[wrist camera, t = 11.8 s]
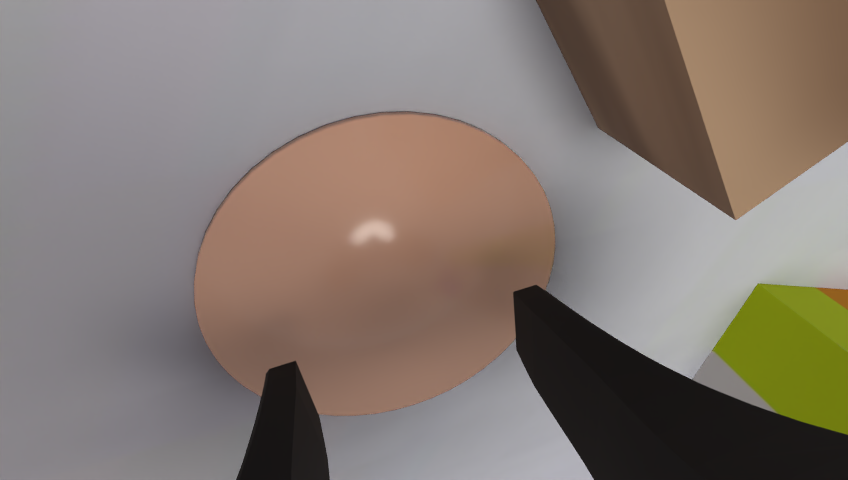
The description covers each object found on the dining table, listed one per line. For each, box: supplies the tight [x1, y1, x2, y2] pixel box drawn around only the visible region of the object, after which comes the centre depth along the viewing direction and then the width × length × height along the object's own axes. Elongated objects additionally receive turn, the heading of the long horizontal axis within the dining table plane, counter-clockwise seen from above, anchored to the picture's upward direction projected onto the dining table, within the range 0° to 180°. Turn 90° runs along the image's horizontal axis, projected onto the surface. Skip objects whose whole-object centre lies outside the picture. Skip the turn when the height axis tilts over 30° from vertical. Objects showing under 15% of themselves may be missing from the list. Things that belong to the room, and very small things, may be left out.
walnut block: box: [536, 0, 848, 220], centre depth 11 cm, size 5×5×5 cm
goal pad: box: [194, 112, 555, 416], centre depth 15 cm, size 10×10×1 cm
